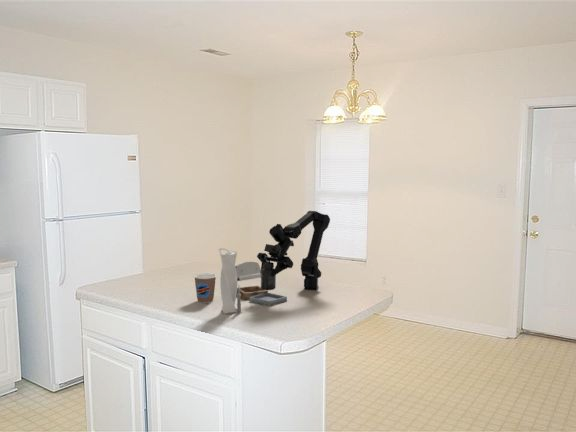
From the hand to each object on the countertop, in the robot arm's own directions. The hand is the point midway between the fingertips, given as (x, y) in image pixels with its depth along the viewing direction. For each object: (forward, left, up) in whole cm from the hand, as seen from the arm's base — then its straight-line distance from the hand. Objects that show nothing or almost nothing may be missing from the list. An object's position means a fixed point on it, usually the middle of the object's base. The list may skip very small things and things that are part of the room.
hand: (266, 274), depth 235 cm
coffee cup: (+28, +7, -13) cm, 31 cm away
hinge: (+26, -47, -13) cm, 55 cm away
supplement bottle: (0, -1, -7) cm, 7 cm away
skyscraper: (+11, +20, -13) cm, 26 cm away
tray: (0, -1, -13) cm, 13 cm away
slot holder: (+11, -9, -13) cm, 19 cm away
